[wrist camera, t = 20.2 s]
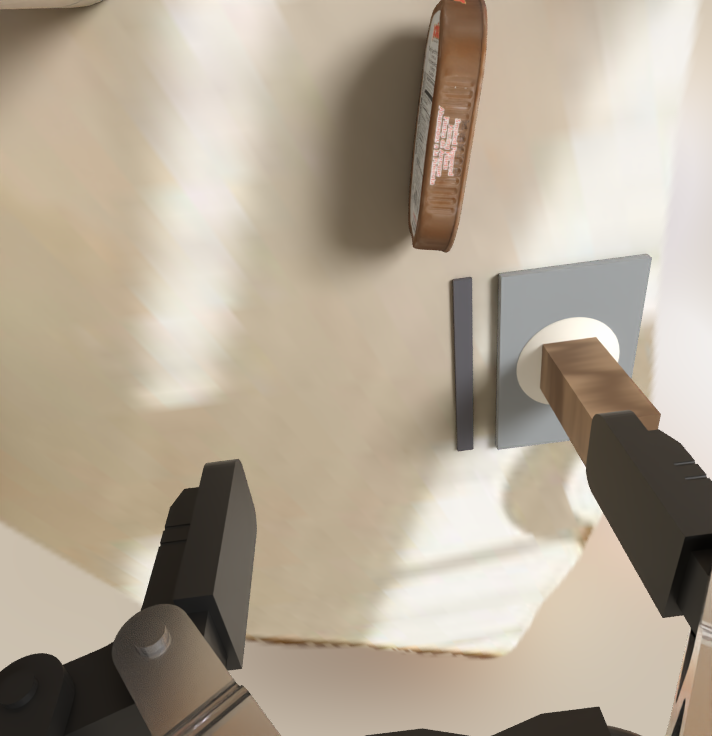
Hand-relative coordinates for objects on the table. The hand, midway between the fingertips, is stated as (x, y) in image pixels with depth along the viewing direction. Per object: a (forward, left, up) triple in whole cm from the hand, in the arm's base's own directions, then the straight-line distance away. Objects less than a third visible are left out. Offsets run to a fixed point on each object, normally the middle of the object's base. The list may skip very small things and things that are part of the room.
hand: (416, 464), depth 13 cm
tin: (+6, +1, -33) cm, 34 cm away
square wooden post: (+17, -20, -32) cm, 42 cm away
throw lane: (+15, -20, -33) cm, 42 cm away
